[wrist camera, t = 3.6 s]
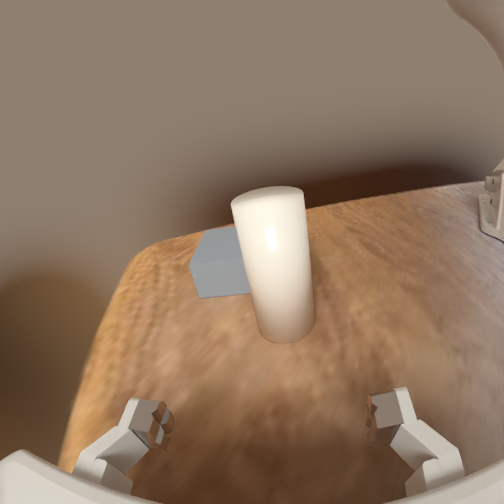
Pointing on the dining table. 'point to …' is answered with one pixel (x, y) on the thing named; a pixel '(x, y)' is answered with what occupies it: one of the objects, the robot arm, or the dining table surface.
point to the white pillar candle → (276, 260)
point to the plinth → (219, 264)
